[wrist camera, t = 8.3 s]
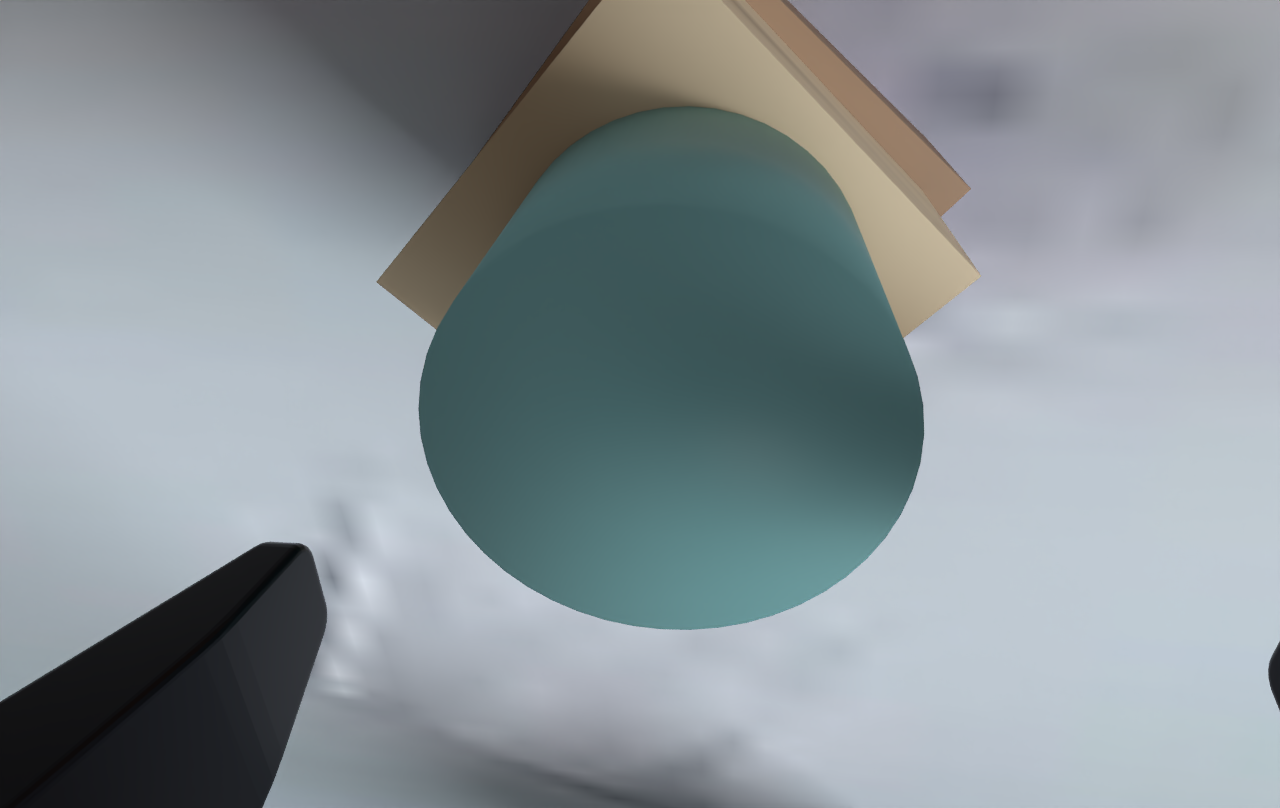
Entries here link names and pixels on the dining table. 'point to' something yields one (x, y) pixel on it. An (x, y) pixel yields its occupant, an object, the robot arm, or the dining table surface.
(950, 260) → the oak top block
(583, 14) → the walnut base block
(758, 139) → the teal cylinder
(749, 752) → the dining table surface
